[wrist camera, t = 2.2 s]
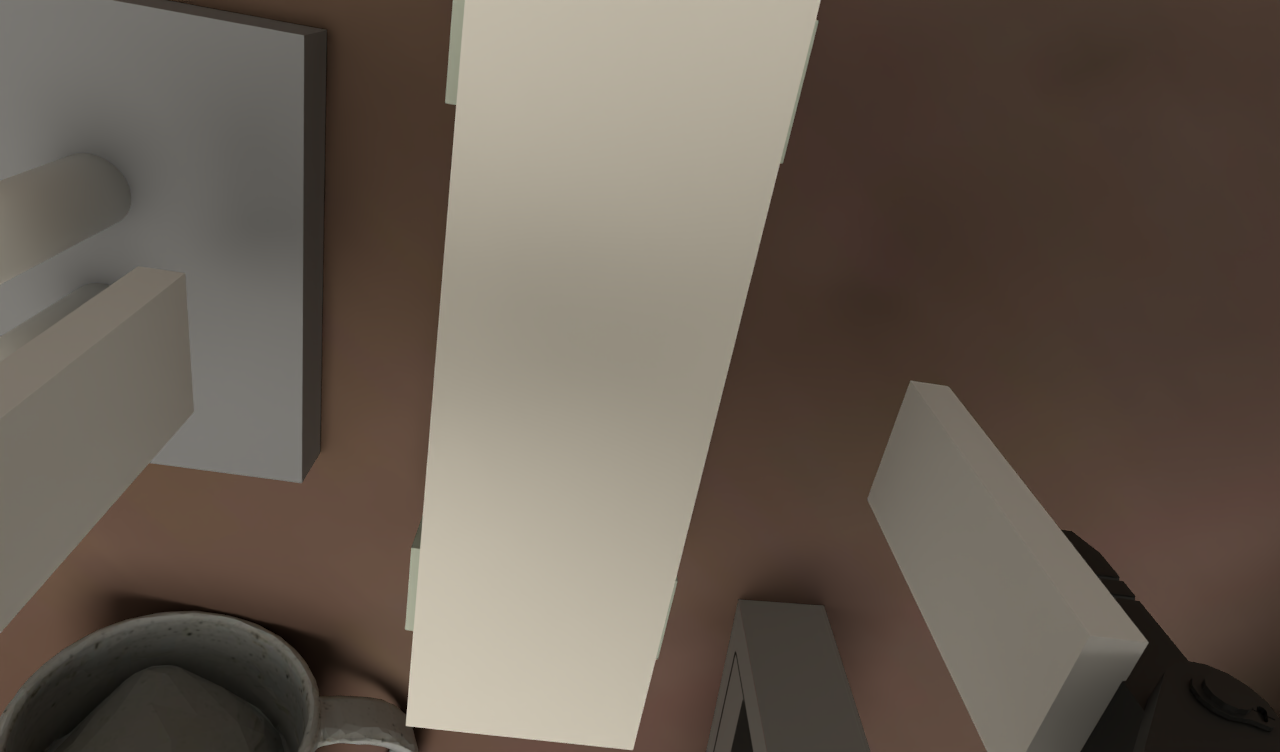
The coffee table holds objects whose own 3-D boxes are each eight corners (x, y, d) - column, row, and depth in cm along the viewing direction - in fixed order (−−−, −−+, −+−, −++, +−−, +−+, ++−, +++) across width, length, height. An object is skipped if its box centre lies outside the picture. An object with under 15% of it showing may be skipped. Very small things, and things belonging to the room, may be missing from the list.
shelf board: (493, -101, 13) (473, -111, 11) (802, -38, 14) (830, -38, 12) (424, 657, 20) (405, 725, 18) (631, 681, 21) (632, 750, 19)
